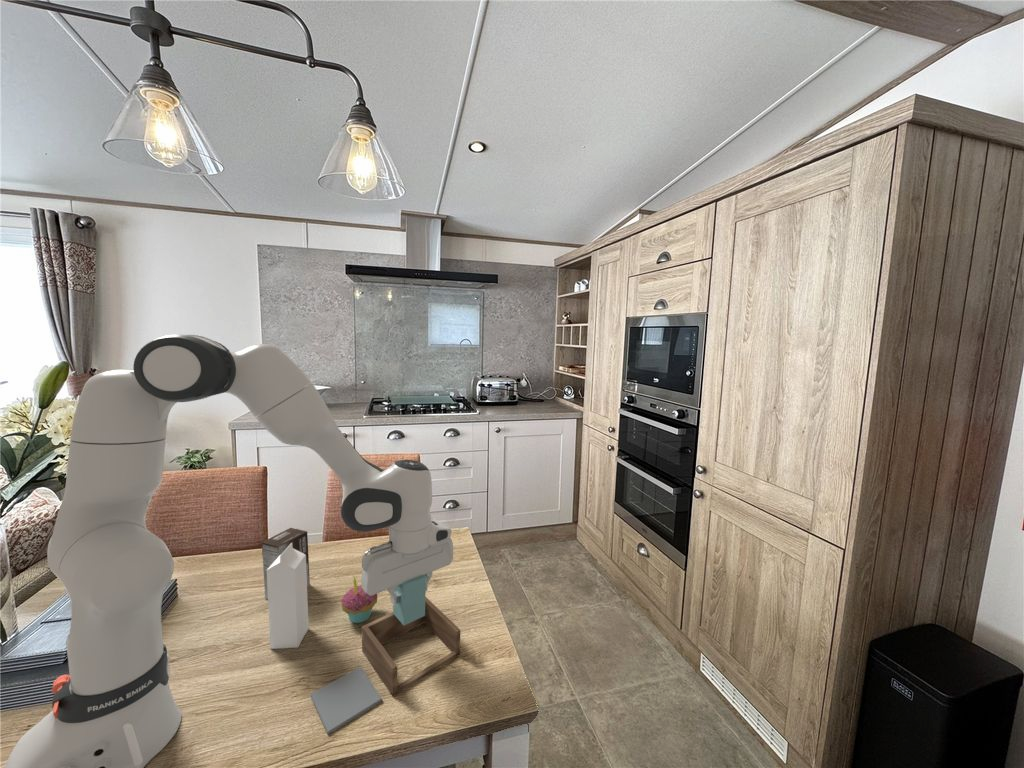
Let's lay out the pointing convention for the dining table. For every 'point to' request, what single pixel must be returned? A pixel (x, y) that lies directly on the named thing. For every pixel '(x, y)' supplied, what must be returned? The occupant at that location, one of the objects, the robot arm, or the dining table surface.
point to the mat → (345, 699)
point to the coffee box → (279, 545)
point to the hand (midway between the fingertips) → (409, 596)
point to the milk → (287, 599)
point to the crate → (392, 628)
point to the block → (411, 600)
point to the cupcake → (358, 603)
